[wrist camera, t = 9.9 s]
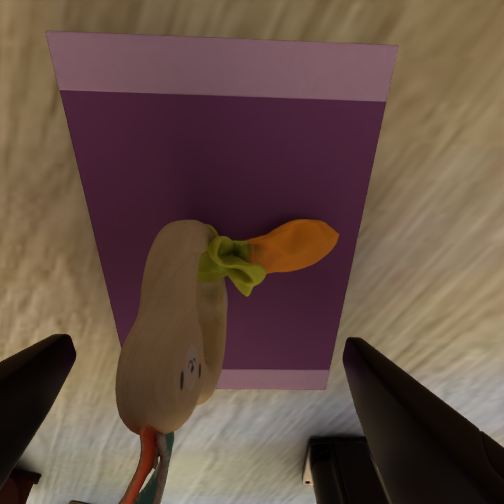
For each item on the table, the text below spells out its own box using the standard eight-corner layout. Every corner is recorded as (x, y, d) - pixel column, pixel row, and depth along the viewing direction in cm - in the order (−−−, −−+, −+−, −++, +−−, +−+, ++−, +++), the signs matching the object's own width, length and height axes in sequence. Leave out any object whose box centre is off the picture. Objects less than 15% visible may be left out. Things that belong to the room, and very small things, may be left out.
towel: (322, 380, 19) (325, 390, 18) (135, 378, 18) (130, 388, 18) (388, 51, 11) (400, 44, 10) (58, 37, 10) (43, 29, 10)
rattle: (301, 331, 16) (407, 708, 5) (170, 311, 15) (-12, 703, 4) (340, 219, 13) (756, 561, 2) (180, 188, 12) (-272, 484, 2)
